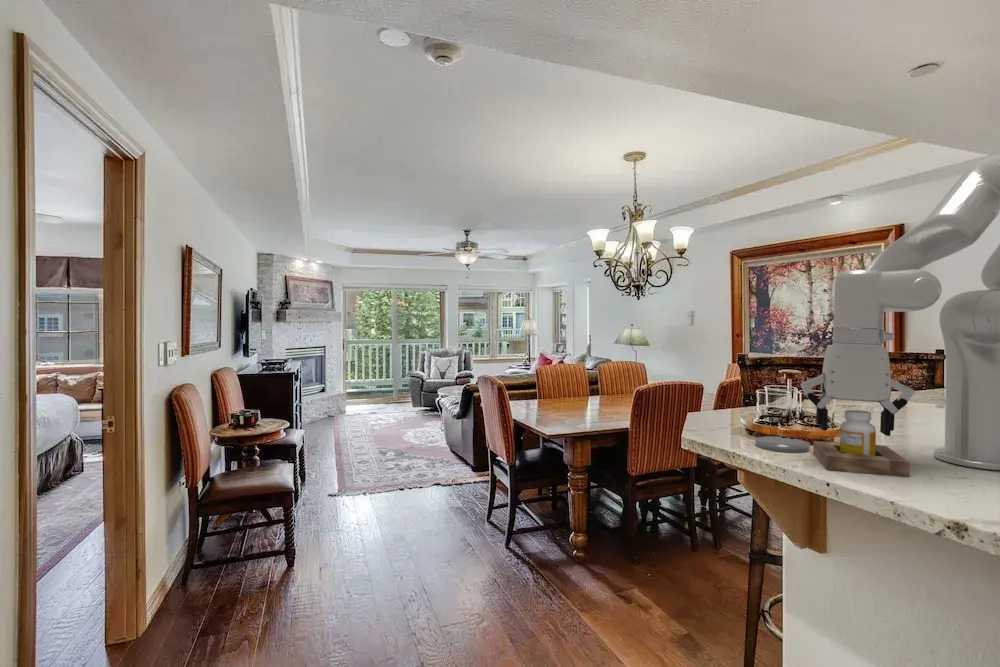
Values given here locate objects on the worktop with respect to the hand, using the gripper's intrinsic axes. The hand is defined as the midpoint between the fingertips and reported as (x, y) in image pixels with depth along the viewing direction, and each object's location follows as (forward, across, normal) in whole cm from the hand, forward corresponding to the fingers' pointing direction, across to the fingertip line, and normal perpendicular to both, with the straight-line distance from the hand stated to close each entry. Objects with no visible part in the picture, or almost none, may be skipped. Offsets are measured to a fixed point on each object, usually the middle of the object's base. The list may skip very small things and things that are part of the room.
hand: (853, 431), depth 94 cm
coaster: (+6, +10, -10) cm, 16 cm away
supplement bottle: (+6, -1, 0) cm, 6 cm away
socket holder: (+6, -1, 0) cm, 6 cm away
